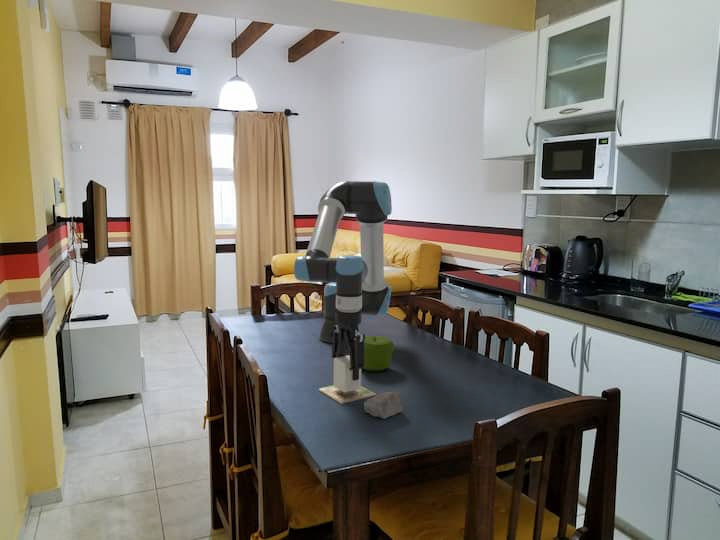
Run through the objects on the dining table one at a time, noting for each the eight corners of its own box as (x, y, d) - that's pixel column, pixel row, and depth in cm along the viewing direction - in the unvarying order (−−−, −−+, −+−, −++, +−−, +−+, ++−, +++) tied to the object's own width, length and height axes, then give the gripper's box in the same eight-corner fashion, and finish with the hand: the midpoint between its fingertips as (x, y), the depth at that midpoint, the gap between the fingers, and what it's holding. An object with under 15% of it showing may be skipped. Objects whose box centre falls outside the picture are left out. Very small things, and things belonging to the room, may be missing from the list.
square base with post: (351, 382, 164) (352, 354, 163) (375, 395, 155) (376, 365, 154) (318, 390, 157) (319, 361, 156) (341, 404, 148) (342, 373, 147)
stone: (359, 411, 143) (360, 390, 143) (389, 405, 149) (390, 385, 148) (376, 422, 137) (377, 400, 136) (406, 415, 142) (407, 394, 141)
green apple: (366, 377, 170) (367, 343, 168) (349, 365, 181) (350, 333, 179) (399, 371, 176) (400, 338, 174) (381, 361, 186) (382, 329, 185)
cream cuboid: (349, 382, 160) (350, 355, 159) (360, 388, 155) (361, 360, 154) (333, 386, 156) (333, 358, 155) (344, 392, 152) (345, 363, 151)
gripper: (320, 304, 158) (319, 379, 161) (357, 317, 143) (355, 399, 146) (341, 302, 162) (339, 375, 166) (379, 314, 147) (376, 394, 150)
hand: (347, 386), depth 156 cm, fingers closed on cream cuboid, 6 cm apart
